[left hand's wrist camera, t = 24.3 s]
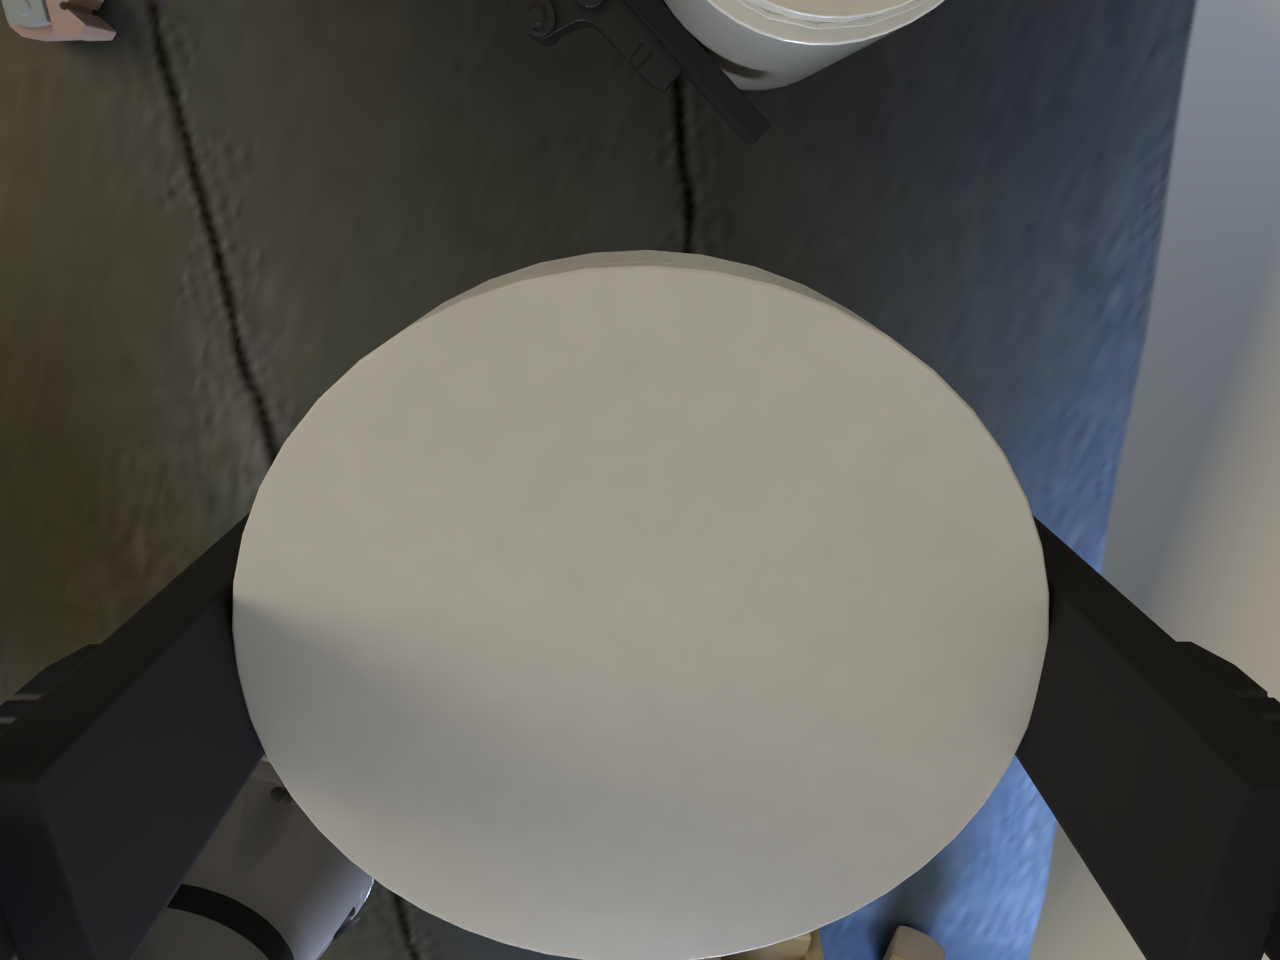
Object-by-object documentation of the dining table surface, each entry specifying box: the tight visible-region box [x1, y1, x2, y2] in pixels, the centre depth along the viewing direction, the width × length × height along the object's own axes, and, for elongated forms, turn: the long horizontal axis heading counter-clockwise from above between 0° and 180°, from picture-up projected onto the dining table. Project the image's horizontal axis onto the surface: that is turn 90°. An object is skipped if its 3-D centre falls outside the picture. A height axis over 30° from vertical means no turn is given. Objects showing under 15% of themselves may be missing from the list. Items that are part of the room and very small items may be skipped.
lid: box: [232, 250, 1049, 960], centre depth 11 cm, size 11×11×2 cm
